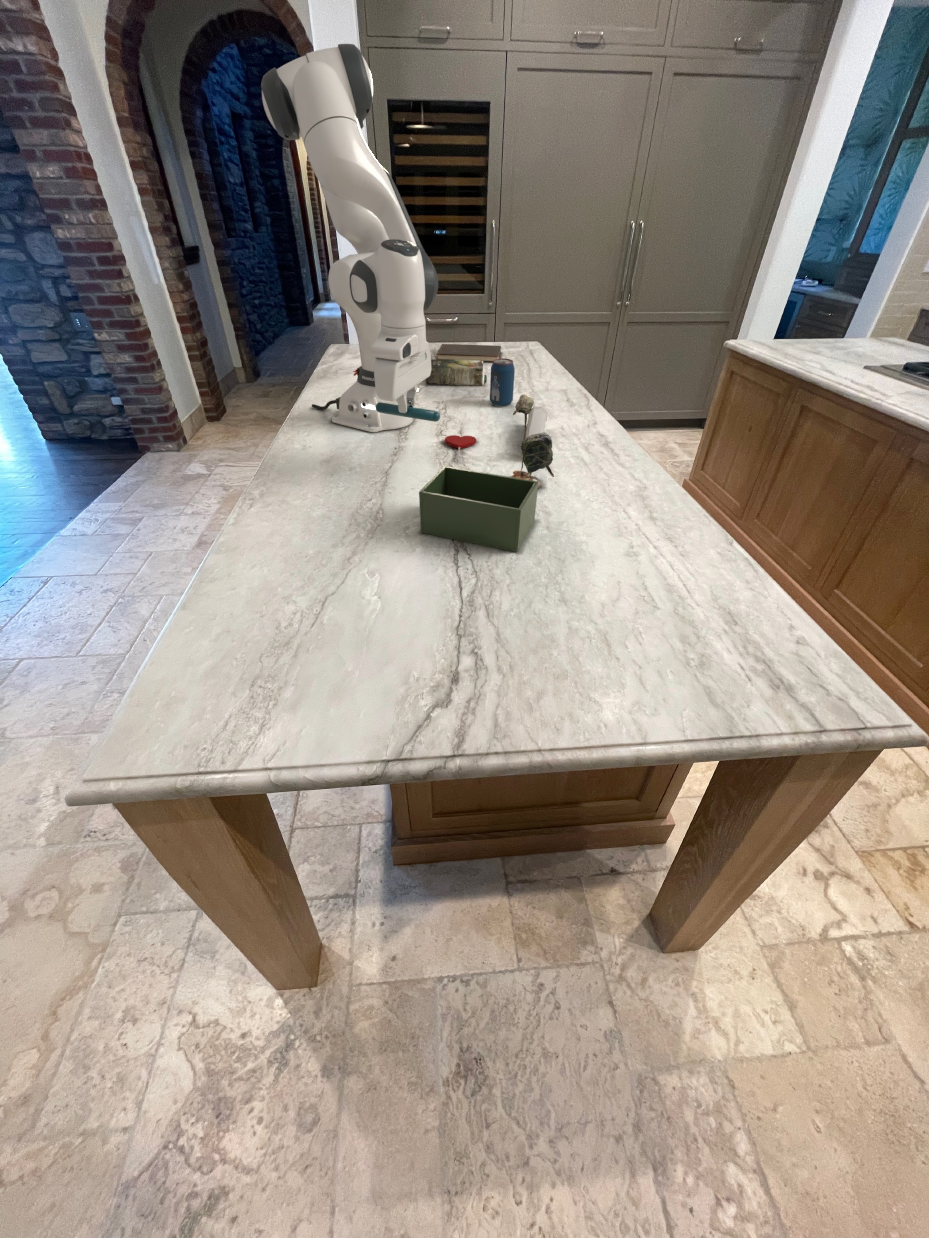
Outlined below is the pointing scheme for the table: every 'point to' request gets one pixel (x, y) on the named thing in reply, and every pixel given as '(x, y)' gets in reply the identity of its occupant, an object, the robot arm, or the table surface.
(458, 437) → the lollipop
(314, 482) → the table surface
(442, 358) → the hardcover book
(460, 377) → the juice carton
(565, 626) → the table surface
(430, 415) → the teal rod
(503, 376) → the soda can
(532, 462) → the plant with pod
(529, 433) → the white square bar
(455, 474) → the bin
